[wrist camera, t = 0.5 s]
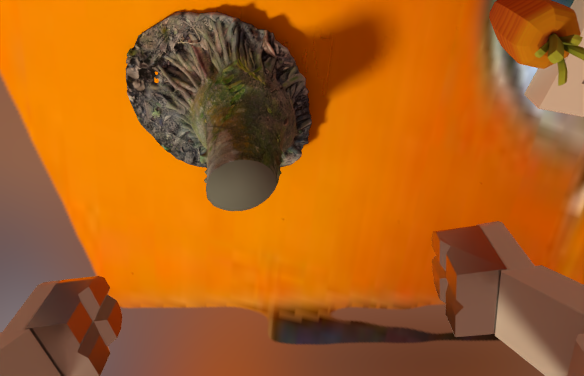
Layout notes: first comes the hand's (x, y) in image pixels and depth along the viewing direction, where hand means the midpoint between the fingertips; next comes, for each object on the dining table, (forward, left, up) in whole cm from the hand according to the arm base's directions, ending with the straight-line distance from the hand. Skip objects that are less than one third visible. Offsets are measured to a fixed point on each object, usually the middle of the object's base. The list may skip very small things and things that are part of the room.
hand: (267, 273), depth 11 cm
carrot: (-1, +20, -37) cm, 42 cm away
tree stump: (+13, -5, -37) cm, 40 cm away
